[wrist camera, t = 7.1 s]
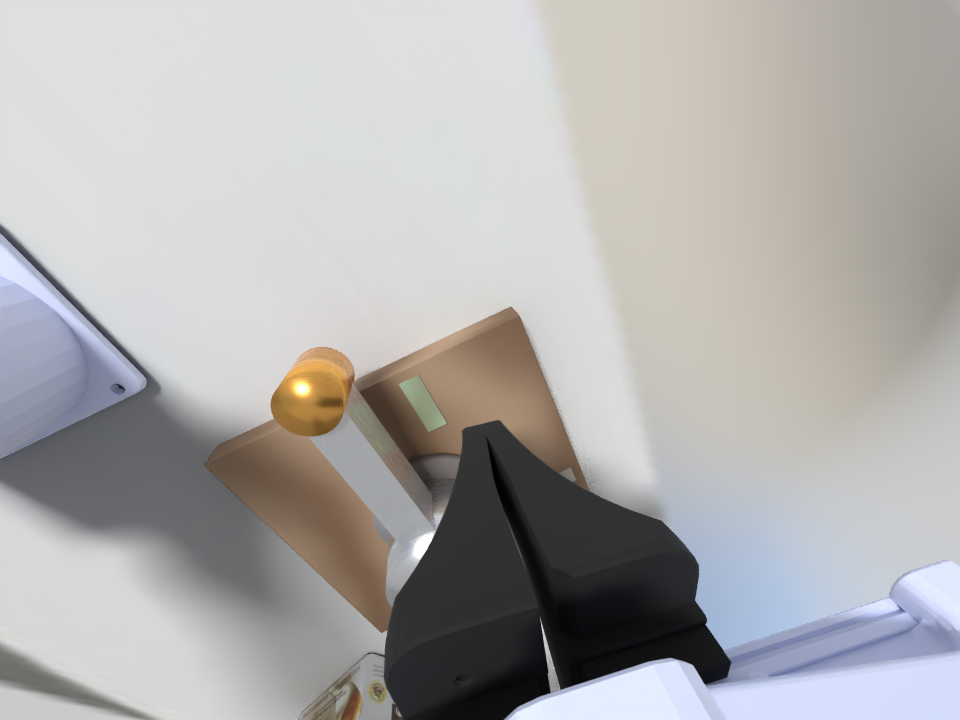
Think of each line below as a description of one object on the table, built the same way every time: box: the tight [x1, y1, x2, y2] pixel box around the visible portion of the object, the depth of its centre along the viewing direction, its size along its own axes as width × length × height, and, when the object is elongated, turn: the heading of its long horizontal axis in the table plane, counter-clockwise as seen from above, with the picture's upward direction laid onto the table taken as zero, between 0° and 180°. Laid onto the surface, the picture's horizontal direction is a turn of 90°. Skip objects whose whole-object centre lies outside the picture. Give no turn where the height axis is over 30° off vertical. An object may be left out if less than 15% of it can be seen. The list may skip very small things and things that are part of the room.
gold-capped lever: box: [271, 347, 455, 608], centre depth 15 cm, size 14×5×5 cm, turn 24°
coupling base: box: [204, 307, 590, 633], centre depth 20 cm, size 16×16×2 cm
